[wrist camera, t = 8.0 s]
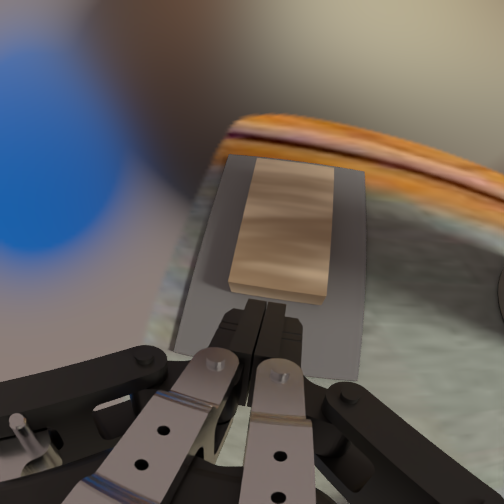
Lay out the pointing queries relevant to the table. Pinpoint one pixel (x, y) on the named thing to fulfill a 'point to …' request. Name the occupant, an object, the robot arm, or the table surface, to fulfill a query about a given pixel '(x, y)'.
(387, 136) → the table surface
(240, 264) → the maple block
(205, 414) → the robot arm
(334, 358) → the rubber mat
